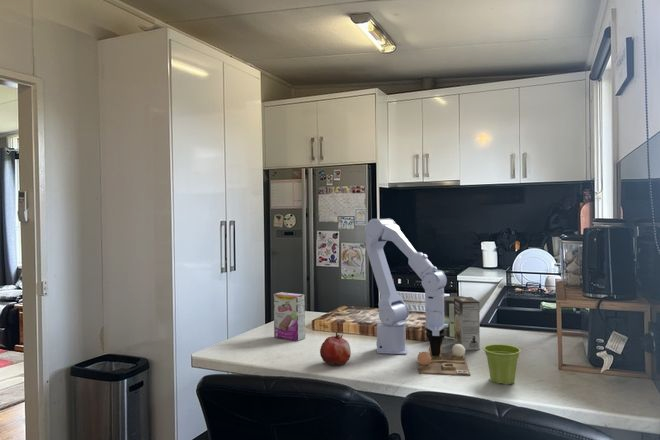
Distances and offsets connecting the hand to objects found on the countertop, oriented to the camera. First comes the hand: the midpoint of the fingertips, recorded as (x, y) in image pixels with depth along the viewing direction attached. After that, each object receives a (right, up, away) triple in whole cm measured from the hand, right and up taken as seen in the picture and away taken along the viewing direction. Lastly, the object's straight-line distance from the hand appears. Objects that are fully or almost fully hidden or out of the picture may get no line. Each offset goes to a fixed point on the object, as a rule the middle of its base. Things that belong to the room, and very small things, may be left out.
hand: (435, 353), depth 152 cm
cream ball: (+7, +1, -1) cm, 7 cm away
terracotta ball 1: (-5, +1, -9) cm, 11 cm away
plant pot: (+13, -2, -21) cm, 25 cm away
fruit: (-31, -2, -3) cm, 31 cm away
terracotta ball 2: (0, +1, 0) cm, 1 cm away
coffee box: (+14, -2, +14) cm, 19 cm away
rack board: (+1, -2, -5) cm, 6 cm away
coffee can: (+13, -1, +27) cm, 30 cm away
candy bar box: (-48, -2, +28) cm, 55 cm away
